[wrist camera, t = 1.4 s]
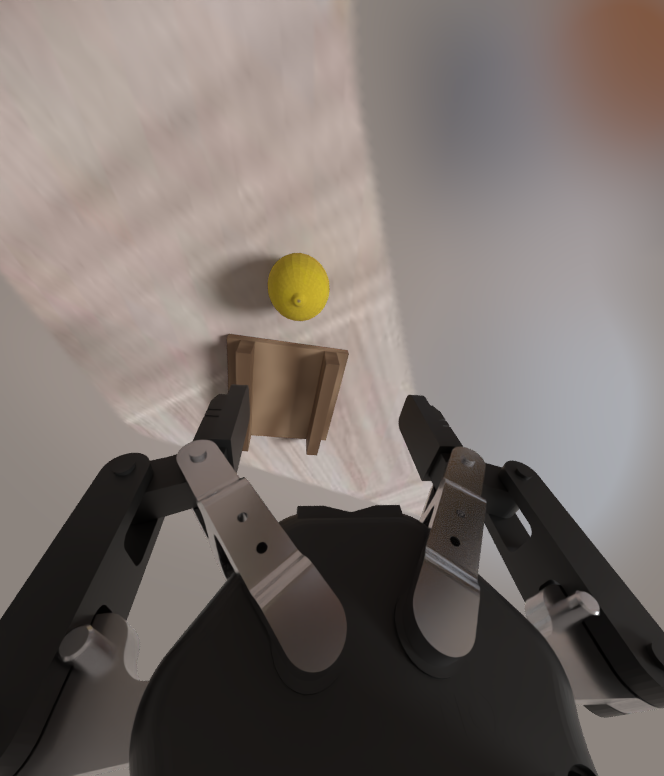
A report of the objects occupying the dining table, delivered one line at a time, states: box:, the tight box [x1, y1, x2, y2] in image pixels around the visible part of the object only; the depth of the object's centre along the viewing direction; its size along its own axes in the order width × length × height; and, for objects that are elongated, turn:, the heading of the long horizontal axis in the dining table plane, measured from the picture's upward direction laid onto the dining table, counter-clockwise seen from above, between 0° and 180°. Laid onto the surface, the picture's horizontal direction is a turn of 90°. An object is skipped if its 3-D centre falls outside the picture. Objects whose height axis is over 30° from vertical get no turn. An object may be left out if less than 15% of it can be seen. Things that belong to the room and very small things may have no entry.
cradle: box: [227, 334, 349, 455], centre depth 34 cm, size 14×15×4 cm
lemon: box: [268, 253, 330, 321], centre depth 24 cm, size 6×6×8 cm
